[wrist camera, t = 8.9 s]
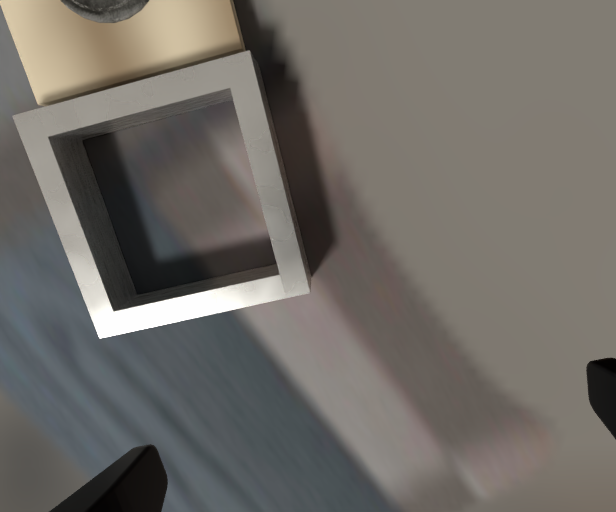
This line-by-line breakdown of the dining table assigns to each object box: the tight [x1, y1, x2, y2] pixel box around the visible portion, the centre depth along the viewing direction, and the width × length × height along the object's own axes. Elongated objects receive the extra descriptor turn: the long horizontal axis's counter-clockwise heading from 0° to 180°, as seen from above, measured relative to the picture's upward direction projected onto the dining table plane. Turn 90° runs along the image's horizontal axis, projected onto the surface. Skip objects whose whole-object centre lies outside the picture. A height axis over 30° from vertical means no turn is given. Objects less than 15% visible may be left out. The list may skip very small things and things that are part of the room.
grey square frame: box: [13, 50, 311, 338], centre depth 19 cm, size 11×11×2 cm
